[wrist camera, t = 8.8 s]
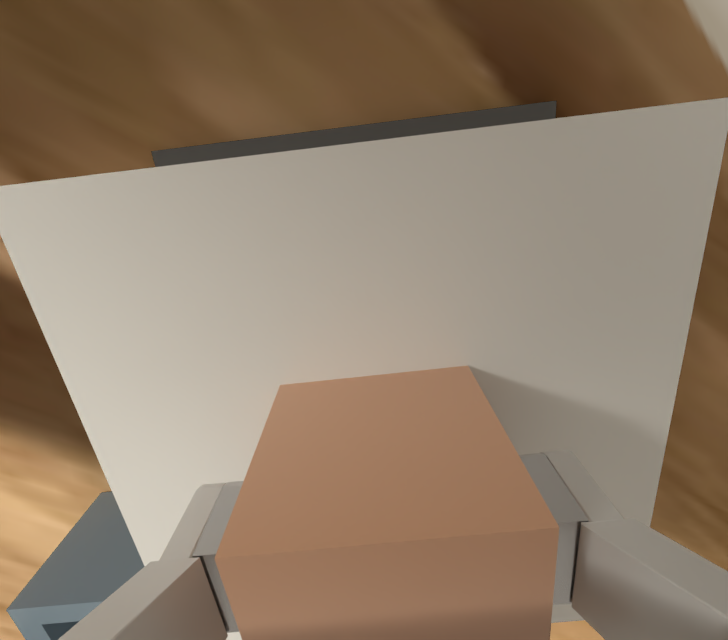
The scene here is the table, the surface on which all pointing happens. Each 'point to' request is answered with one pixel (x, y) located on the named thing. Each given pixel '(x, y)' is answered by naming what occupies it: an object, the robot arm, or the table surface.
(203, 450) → the lid
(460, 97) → the table surface
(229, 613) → the robot arm
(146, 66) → the table surface
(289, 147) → the mat
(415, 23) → the table surface
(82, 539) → the open box
